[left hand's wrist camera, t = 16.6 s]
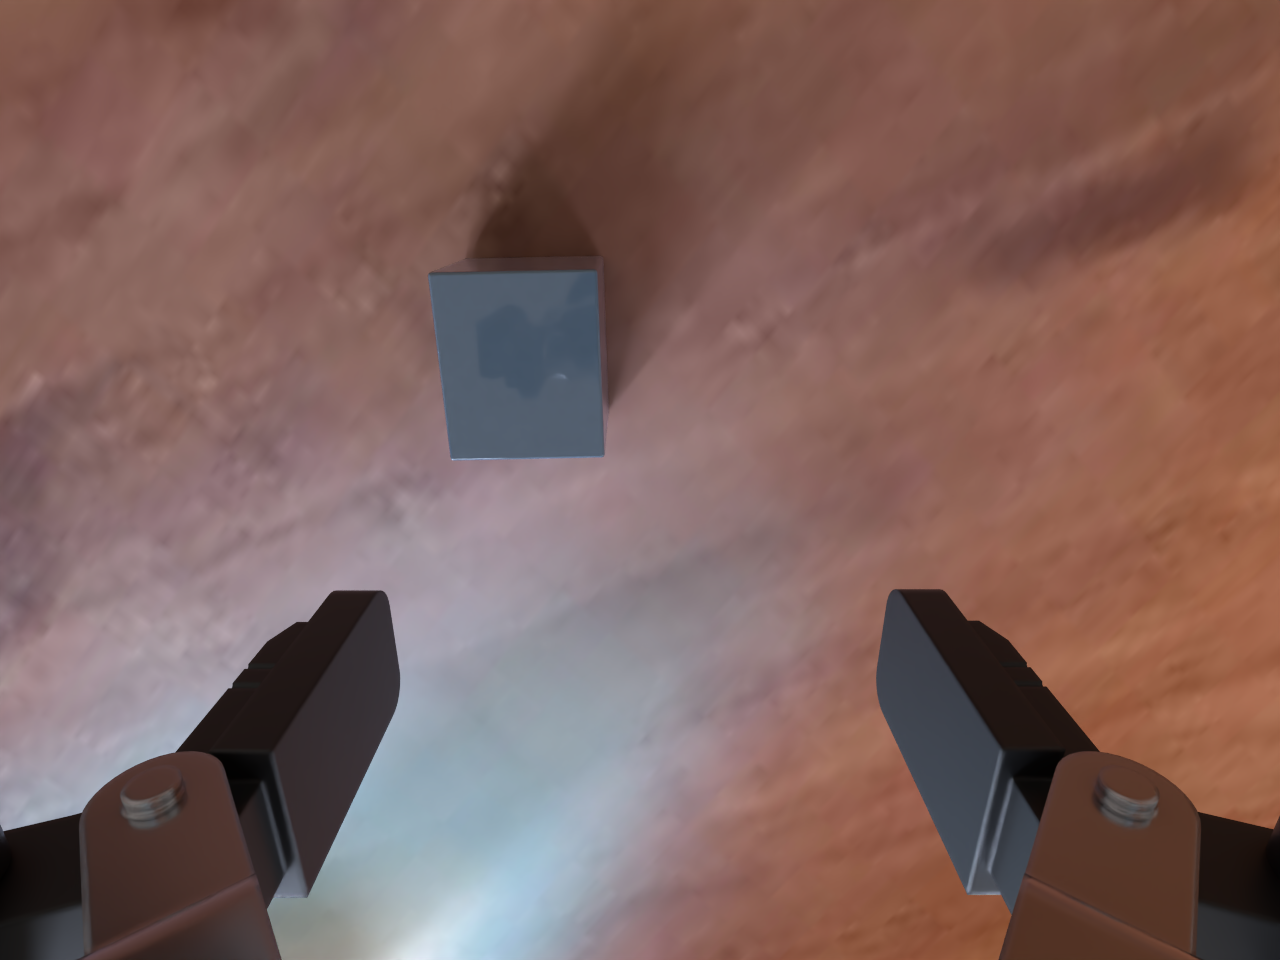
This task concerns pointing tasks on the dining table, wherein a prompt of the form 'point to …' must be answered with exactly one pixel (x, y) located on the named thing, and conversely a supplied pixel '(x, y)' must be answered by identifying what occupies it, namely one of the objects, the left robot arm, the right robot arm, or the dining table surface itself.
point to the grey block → (522, 356)
